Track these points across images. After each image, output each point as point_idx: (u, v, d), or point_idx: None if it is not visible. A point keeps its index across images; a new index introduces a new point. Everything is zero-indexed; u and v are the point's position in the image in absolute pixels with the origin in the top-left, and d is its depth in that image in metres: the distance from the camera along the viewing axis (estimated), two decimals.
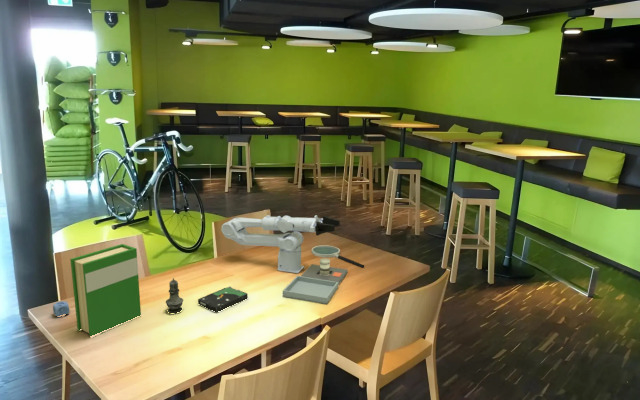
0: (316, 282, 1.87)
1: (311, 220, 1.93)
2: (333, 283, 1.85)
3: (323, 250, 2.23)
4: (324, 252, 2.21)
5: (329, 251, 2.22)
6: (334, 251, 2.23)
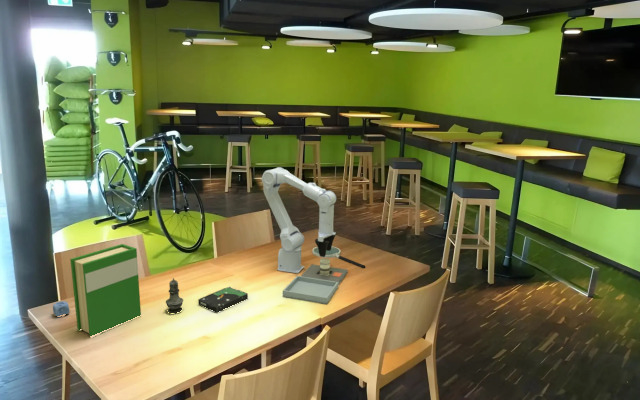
0: (316, 282, 1.87)
1: (330, 230, 1.89)
2: (333, 283, 1.85)
3: None
4: None
5: (330, 252, 2.22)
6: (335, 251, 2.23)
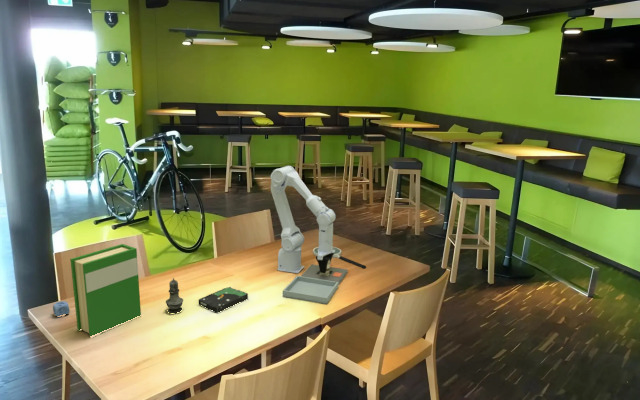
0: (316, 282, 1.87)
1: (329, 248, 1.91)
2: (333, 283, 1.85)
3: None
4: None
5: None
6: (335, 252, 2.23)
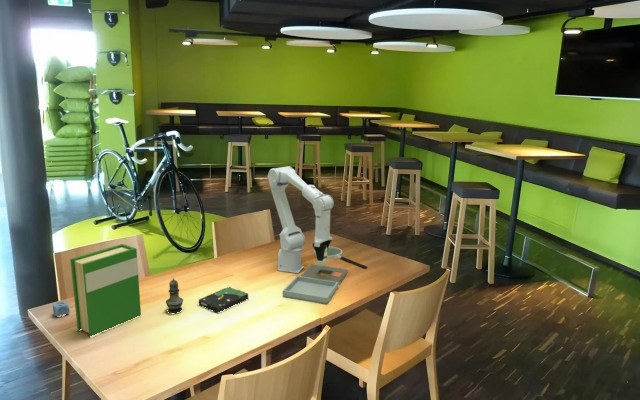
0: (316, 282, 1.87)
1: (326, 235, 1.85)
2: (333, 283, 1.85)
3: None
4: None
5: (331, 252, 2.21)
6: (336, 252, 2.22)
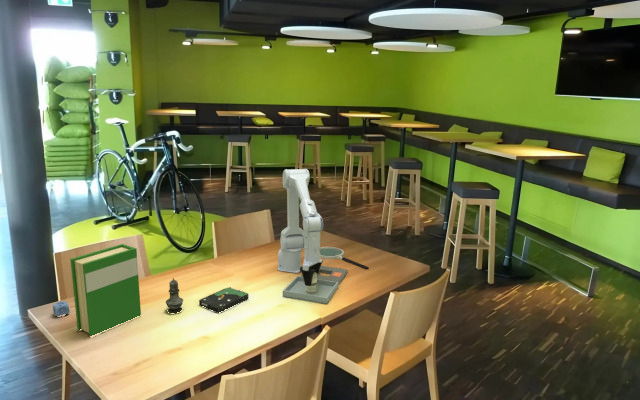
0: None
1: (316, 258, 1.75)
2: (333, 283, 1.85)
3: (327, 252, 2.21)
4: (328, 254, 2.19)
5: (333, 253, 2.20)
6: (338, 253, 2.21)
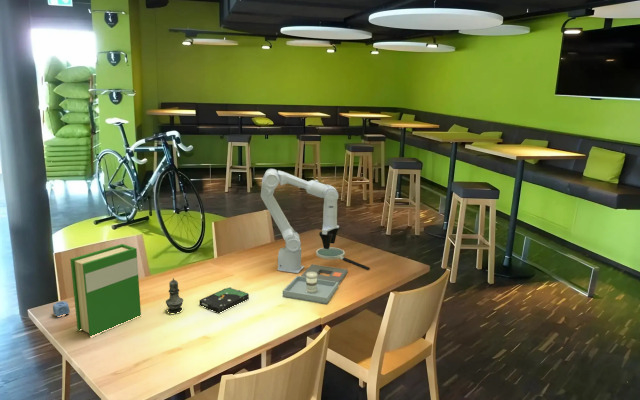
0: None
1: (334, 224, 1.97)
2: (333, 283, 1.85)
3: (328, 252, 2.21)
4: (329, 254, 2.19)
5: (334, 253, 2.20)
6: (339, 253, 2.21)
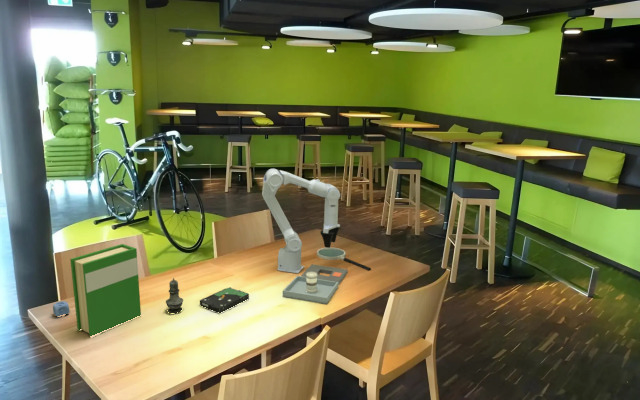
0: None
1: (334, 223, 1.99)
2: (333, 283, 1.85)
3: (328, 252, 2.21)
4: (329, 254, 2.18)
5: (334, 254, 2.19)
6: (340, 253, 2.21)
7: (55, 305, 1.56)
